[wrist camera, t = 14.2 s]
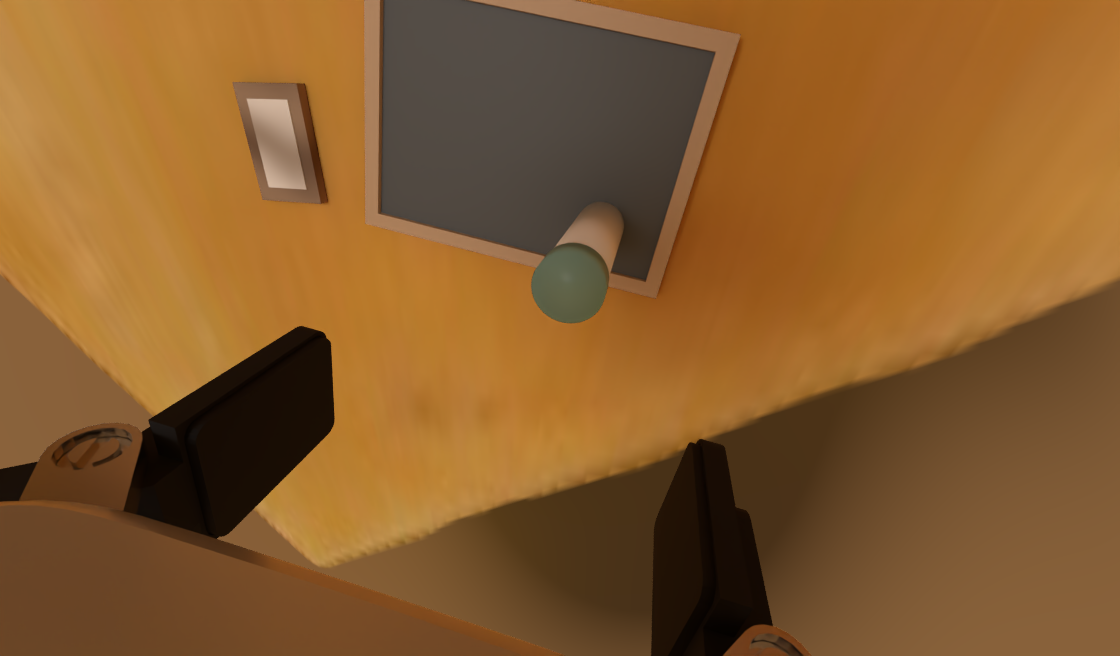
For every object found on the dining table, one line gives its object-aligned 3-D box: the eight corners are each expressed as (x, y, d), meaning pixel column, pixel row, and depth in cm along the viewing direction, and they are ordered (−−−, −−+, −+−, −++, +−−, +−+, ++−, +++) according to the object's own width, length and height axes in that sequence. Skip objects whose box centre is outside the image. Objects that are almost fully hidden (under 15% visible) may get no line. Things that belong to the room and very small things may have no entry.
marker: (581, 194, 31) (538, 244, 20) (631, 206, 31) (613, 263, 20) (571, 243, 32) (526, 312, 22) (618, 255, 32) (595, 331, 22)
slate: (375, -38, 28) (364, -43, 27) (737, 37, 26) (740, 34, 25) (374, 220, 36) (365, 223, 34) (655, 292, 34) (655, 298, 33)
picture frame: (241, 82, 33) (231, 82, 32) (304, 83, 32) (295, 83, 31) (270, 197, 36) (261, 199, 36) (327, 201, 36) (320, 204, 35)
